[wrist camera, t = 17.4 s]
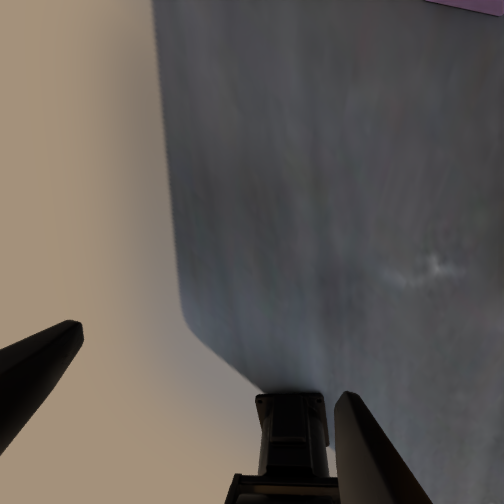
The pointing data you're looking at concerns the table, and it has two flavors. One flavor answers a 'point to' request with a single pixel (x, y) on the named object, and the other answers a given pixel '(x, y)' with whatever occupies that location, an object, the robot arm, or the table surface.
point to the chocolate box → (476, 5)
